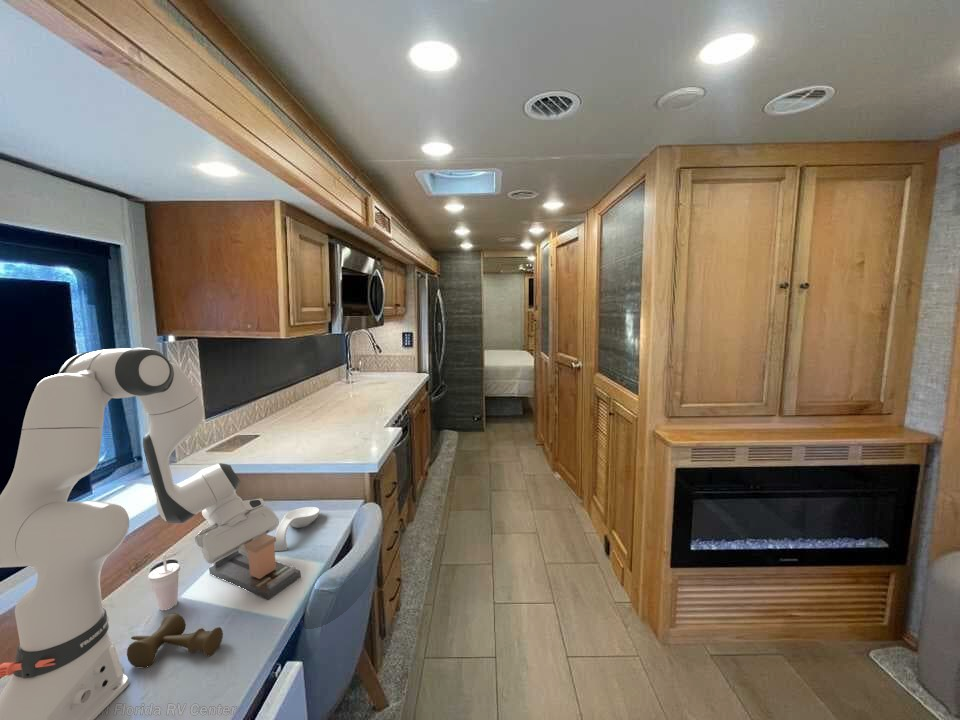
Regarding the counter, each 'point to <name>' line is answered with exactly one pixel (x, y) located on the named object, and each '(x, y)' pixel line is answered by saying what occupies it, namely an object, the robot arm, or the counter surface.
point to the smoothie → (165, 584)
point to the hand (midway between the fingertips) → (255, 556)
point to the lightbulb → (206, 516)
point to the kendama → (172, 641)
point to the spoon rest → (294, 524)
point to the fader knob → (261, 555)
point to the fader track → (239, 574)
